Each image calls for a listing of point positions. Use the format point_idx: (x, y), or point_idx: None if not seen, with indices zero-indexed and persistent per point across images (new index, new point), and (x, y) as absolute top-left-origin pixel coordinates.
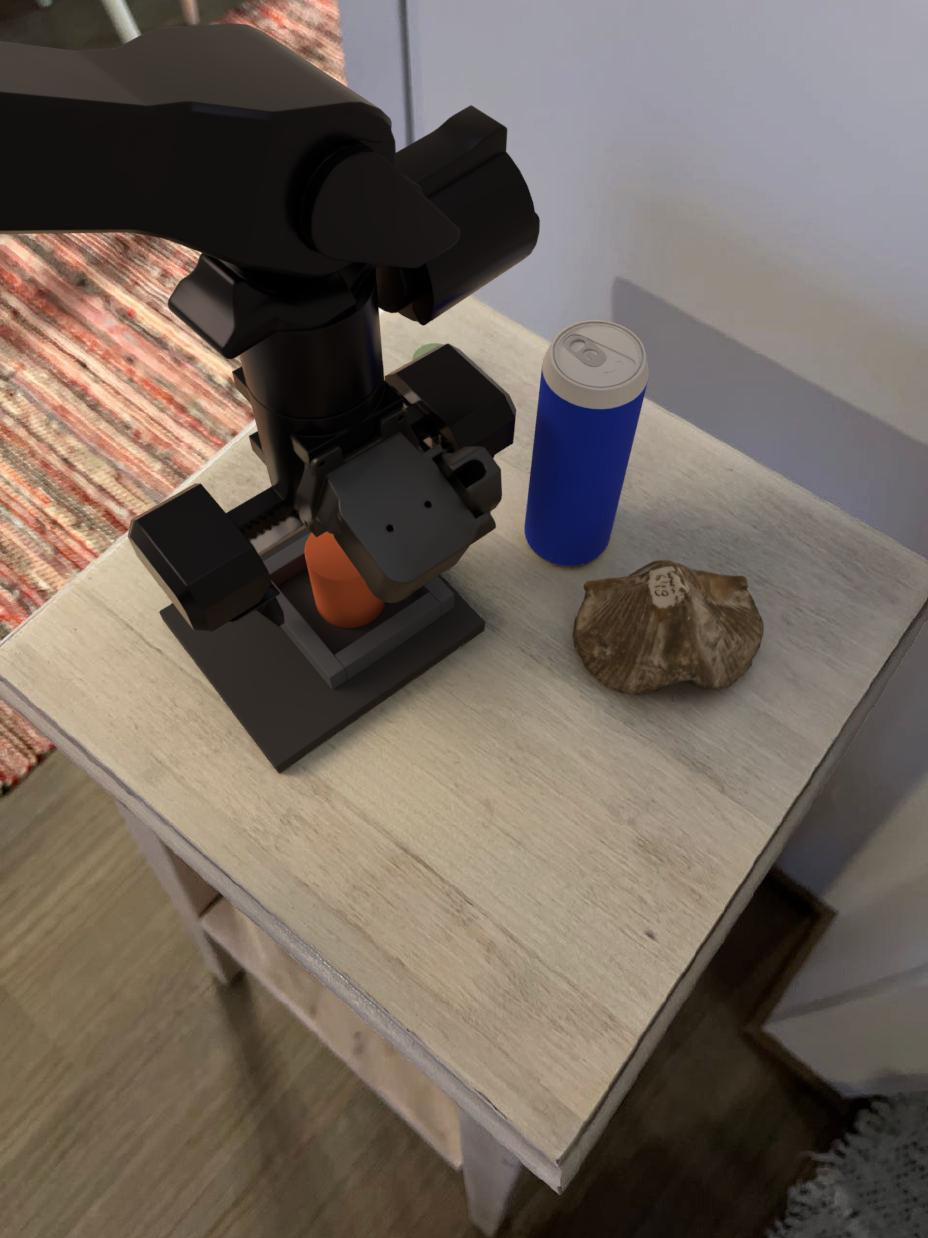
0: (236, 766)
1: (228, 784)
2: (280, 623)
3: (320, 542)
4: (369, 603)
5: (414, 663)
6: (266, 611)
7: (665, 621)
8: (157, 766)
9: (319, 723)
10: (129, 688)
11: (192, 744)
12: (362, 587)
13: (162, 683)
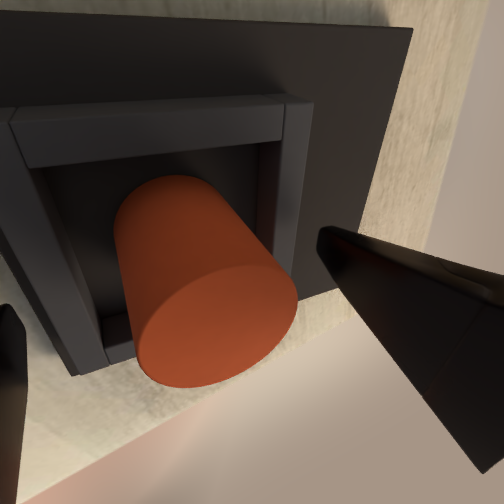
0: (405, 81)
1: (425, 64)
2: (335, 228)
3: (252, 350)
4: (182, 201)
5: (135, 35)
6: (419, 255)
7: None
8: (435, 137)
9: (337, 50)
10: (390, 225)
11: (406, 140)
12: (216, 235)
13: (373, 218)
